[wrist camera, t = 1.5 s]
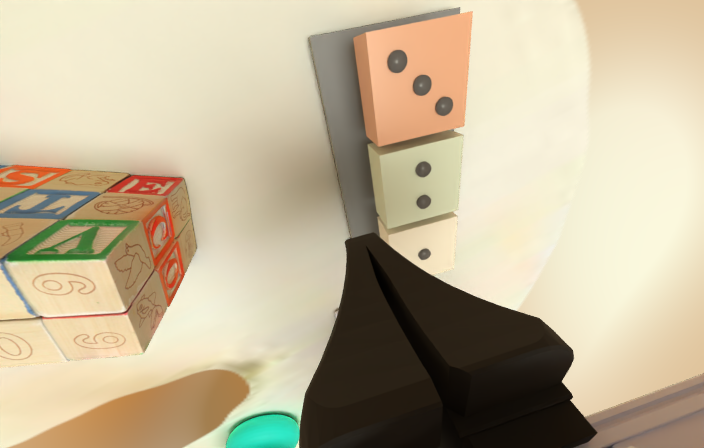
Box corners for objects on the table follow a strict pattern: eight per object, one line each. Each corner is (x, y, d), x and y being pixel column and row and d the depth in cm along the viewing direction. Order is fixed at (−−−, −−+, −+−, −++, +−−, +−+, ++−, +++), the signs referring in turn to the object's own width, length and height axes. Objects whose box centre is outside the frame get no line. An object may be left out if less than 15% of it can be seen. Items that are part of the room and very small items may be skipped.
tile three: (441, 118, 16) (466, 127, 14) (366, 136, 16) (379, 147, 14) (443, 19, 13) (475, 10, 11) (353, 37, 13) (367, 31, 11)
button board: (442, 231, 25) (460, 249, 23) (355, 255, 24) (362, 277, 22) (451, 10, 16) (481, 0, 13) (308, 38, 15) (312, 32, 12)
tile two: (439, 194, 19) (459, 211, 17) (376, 211, 19) (388, 230, 17) (441, 126, 17) (465, 135, 14) (367, 144, 16) (380, 156, 14)
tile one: (438, 249, 22) (455, 270, 20) (383, 265, 22) (395, 288, 20) (439, 200, 20) (459, 217, 17) (377, 216, 19) (389, 236, 17)
